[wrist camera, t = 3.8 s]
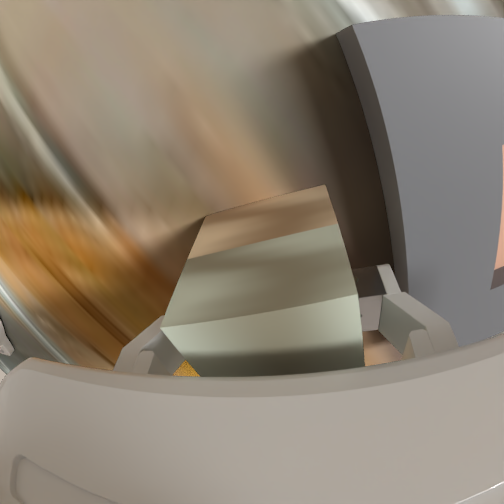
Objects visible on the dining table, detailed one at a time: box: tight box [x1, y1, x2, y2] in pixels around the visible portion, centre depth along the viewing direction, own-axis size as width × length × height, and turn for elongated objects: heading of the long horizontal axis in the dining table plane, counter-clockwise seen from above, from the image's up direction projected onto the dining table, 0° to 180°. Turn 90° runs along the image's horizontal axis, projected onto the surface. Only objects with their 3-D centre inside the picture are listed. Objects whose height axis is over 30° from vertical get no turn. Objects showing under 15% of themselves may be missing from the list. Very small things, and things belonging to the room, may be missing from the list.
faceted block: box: [160, 185, 365, 377], centre depth 10 cm, size 5×5×6 cm
